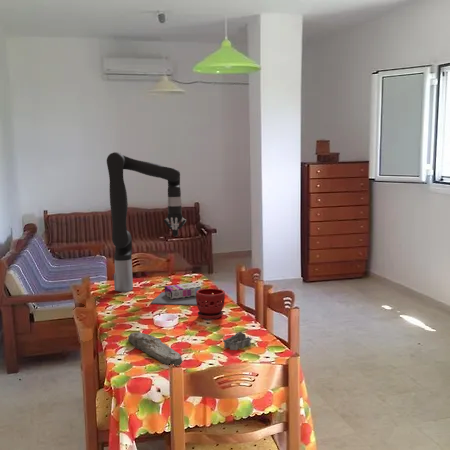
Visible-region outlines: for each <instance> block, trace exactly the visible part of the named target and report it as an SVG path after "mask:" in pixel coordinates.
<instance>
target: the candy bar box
mask: <svg viewBox="0 0 450 450" xmlns="http://www.w3.org/2000/svg"><path fill="white" fill-rule="evenodd" d="M200 289H202V287H201V285H198V284H197V283H195V282H188V283H181V284H173V285H172V284H171V285H164V292H165V295H166V296H168V297H169V298H170V299H178V298H185V297H193V296H196V292H197V291H198V290H200Z"/></svg>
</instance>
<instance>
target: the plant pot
mask: <svg viewBox="0 0 450 450" xmlns="http://www.w3.org/2000/svg"><path fill="white" fill-rule="evenodd" d="M225 296H226V292H225V291H224V290H223V289H220V288H201V289H200V290H198V291H197V292H196V302H197V305H196V306H197V309H198V311H197V316H198V317H200V318H202V319H204V320H216V319H219V318H220V317H222V316H223V314H224V313H223V308H224V306H225V305H224V304H225V299H226V297H225Z"/></svg>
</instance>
